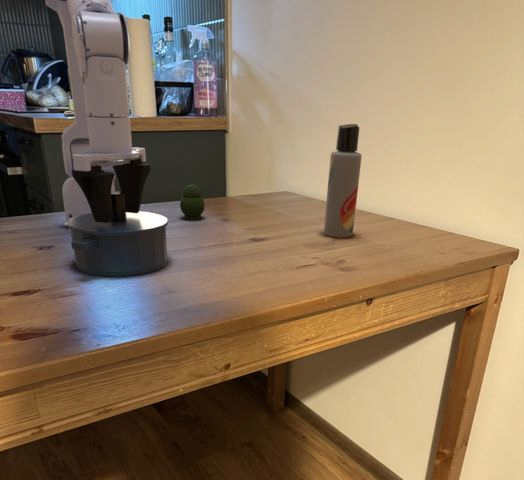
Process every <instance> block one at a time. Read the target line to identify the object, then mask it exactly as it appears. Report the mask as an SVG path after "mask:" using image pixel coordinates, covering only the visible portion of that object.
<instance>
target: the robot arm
mask: <svg viewBox="0 0 524 480" xmlns="http://www.w3.org/2000/svg"><path fill="white" fill-rule="evenodd" d="M44 2H45V6H47V7H48V8H49V9H51V10H53V11H54V12H56V13H57V15H58V18H59V21H60V24H61V27H62V30H63V37H64V44H65V53H66V60H67V67H68V77H69V83H70V92H71V98H72V106H73V107H72V108H73V114H74V115H73V116H74V121H73V122H72V123H71V124H69V125H68V126H67V127H65V129H63V131H62V134H61V143H62V144H61V150H62V158H63V165H64V169H65V174H66V175H67V176H68V178H66V180H65V181H64V182H63V185H62V191H61V192H62V201H63V208H64V215H65V222H64V223H63V226H64V227H67V221H68V220H69V219H70V218H73V217H75V216H78V215H82V214H87V213H92V214H93V217H94V219H95V222H101V223H109V222H110V217H111V207H110V195H111V192H116V188H115V187H116V186H115V180H116V179H117V181H118V184H119V188H120V192H124V197H125V208H126V212H128V213H139V211H140V209H141V204H142V196H143V192H144V187H145V184H146V181H147V178H148V176H149V174H150V172H151V171H152V169H151V164H150V163H144V162H147V155H146V147H135V146H134V147H133V142H132V129H131V117H130V103H129V92H128V77H127V66H128V64H129V60H130V59H129V58H130V36H129V29H128V24H127V20H126V17H125V14H124V13H123V12H115V10H114V7H113V5H112V2H111V0H44ZM76 139H88V141H87V140H86V141H84V140H83V141H82V140H79V141H78V140H76ZM74 140H76V141H74Z"/></svg>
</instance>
